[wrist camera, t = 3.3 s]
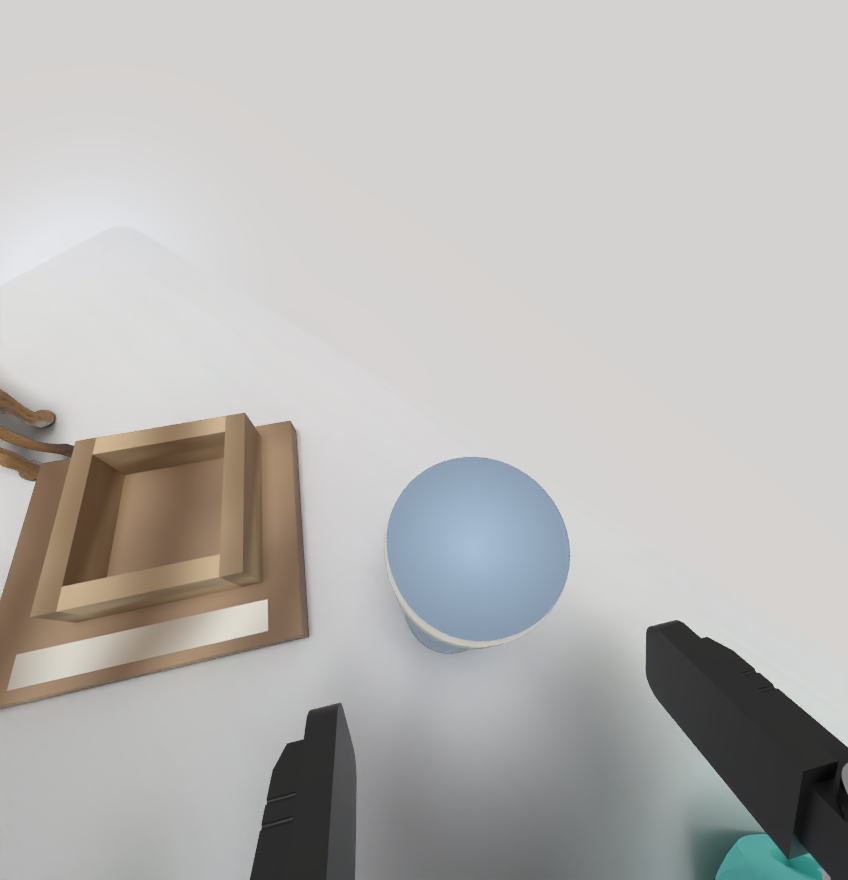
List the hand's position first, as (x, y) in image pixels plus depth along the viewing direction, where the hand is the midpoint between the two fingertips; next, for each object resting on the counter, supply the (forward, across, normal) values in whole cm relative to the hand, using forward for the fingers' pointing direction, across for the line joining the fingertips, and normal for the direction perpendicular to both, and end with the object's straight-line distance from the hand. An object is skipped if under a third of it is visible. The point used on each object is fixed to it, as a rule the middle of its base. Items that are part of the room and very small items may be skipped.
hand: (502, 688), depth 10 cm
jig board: (+13, +14, 0) cm, 19 cm away
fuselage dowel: (+9, 0, +4) cm, 10 cm away
